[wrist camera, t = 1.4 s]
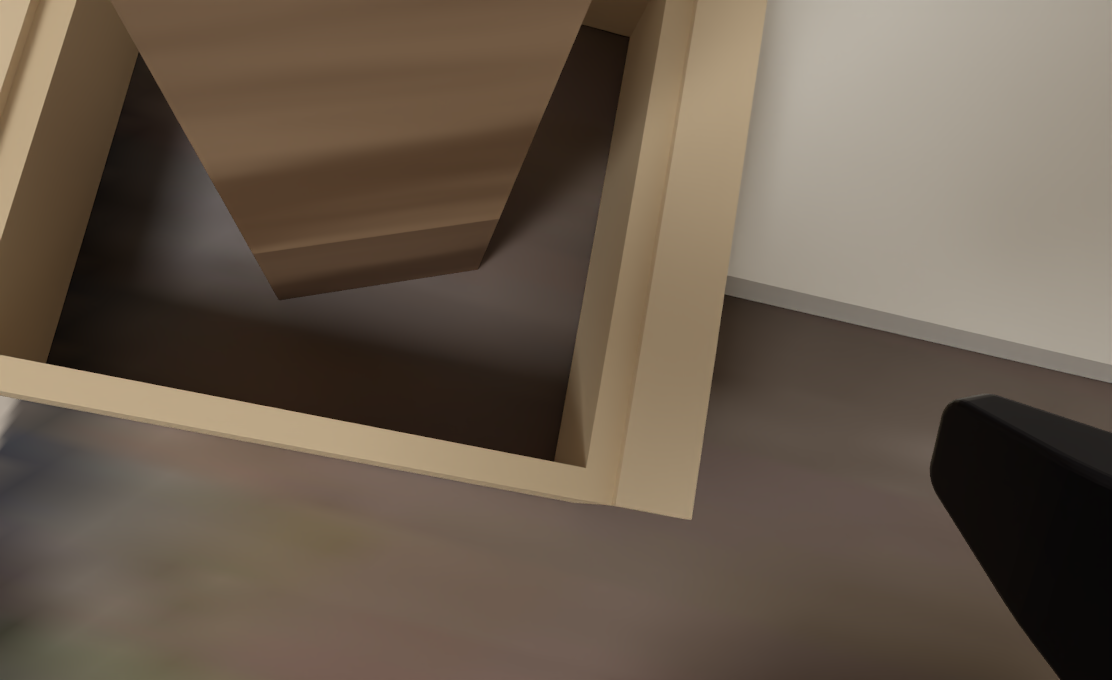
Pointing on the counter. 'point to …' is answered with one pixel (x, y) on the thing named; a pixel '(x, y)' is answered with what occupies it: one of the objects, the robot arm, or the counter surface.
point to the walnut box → (358, 123)
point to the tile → (936, 174)
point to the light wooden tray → (611, 287)
